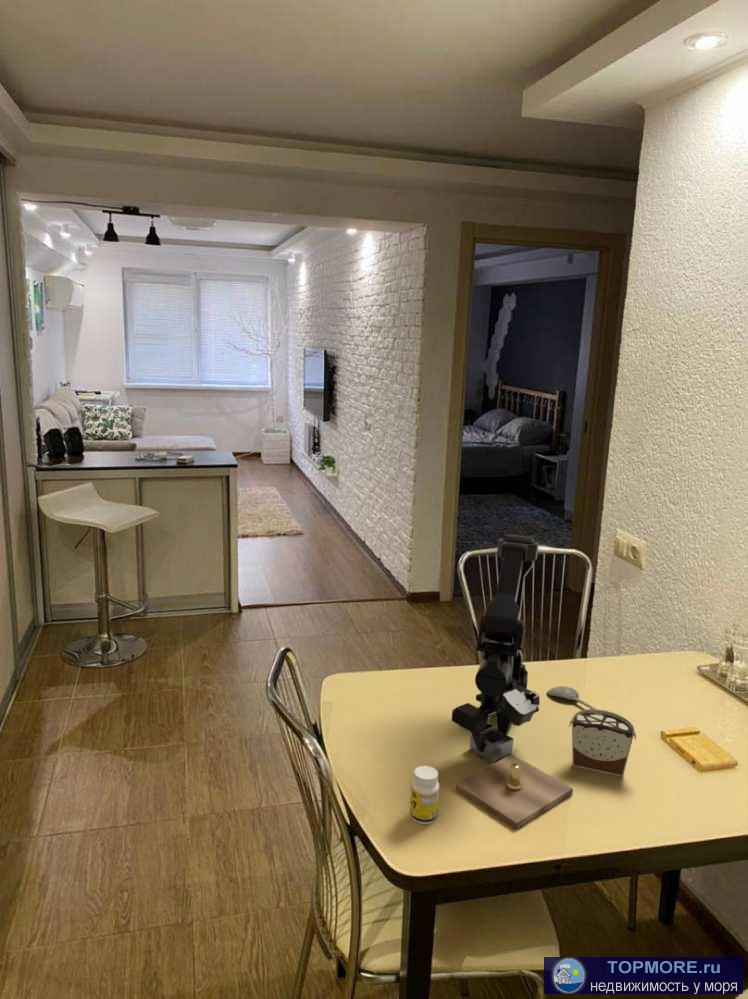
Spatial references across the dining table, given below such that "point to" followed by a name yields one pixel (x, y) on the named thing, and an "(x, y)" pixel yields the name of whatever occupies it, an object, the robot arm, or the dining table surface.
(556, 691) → the soupspoon
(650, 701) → the dining table surface
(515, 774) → the keeper peg
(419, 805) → the supplement bottle
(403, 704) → the dining table surface
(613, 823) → the dining table surface
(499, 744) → the grey square ring
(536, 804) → the keeper board
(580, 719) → the slice of cake
